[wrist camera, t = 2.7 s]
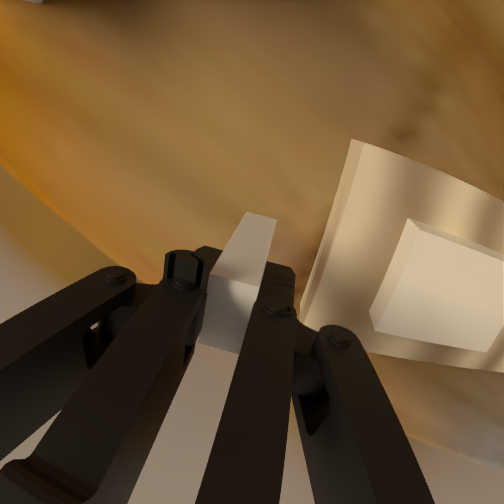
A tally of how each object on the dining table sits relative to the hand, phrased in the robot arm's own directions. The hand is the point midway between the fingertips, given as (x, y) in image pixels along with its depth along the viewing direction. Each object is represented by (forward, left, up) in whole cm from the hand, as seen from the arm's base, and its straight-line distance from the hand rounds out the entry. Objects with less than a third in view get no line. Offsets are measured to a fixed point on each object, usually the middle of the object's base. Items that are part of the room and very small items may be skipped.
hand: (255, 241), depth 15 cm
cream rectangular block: (-12, 0, -1) cm, 12 cm away
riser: (-14, 0, -5) cm, 15 cm away
